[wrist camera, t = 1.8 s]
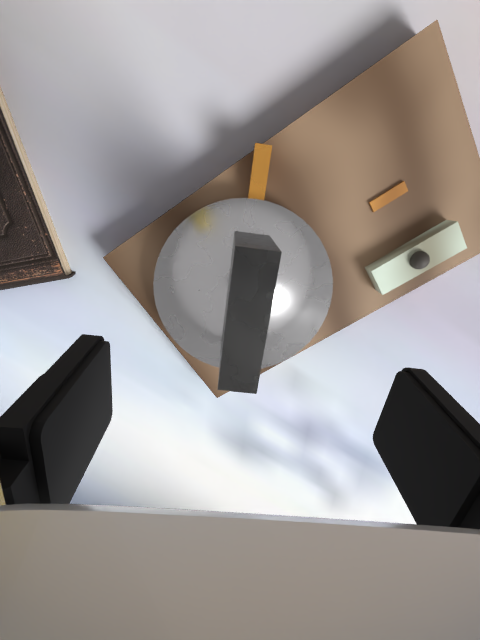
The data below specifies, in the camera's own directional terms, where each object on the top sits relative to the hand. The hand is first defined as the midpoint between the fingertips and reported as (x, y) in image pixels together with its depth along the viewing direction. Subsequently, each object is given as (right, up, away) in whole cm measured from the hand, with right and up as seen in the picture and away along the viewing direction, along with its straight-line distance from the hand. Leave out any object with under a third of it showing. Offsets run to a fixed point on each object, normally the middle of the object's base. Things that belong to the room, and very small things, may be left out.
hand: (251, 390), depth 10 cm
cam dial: (0, +6, +12) cm, 13 cm away
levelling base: (+4, +8, +14) cm, 16 cm away
